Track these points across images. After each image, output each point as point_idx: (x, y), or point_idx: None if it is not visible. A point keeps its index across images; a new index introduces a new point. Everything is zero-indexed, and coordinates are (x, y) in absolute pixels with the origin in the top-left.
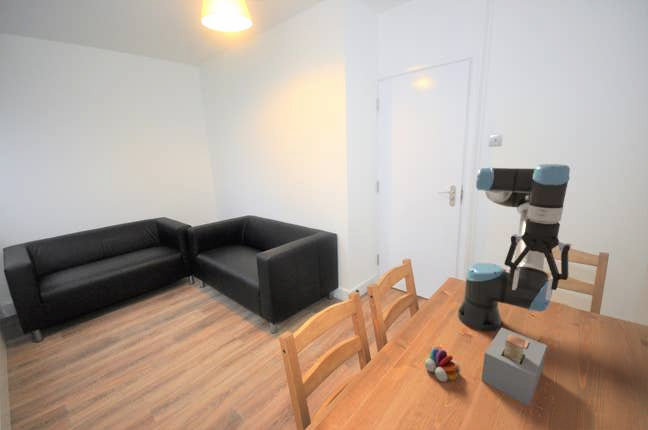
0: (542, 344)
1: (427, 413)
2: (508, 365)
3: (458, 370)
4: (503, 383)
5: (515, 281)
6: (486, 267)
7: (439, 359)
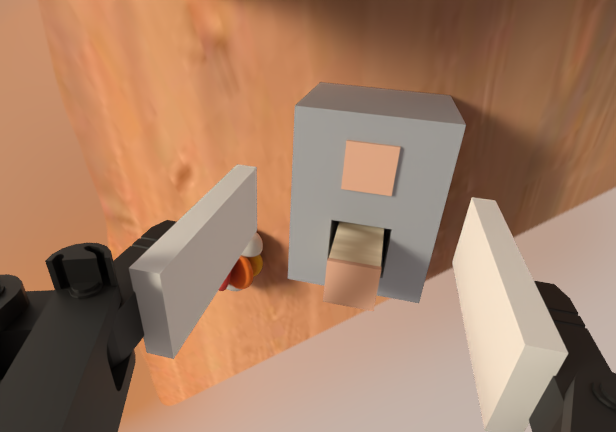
0: (448, 131)
1: (258, 343)
2: None
3: (258, 254)
4: None
5: (223, 273)
6: None
7: None
